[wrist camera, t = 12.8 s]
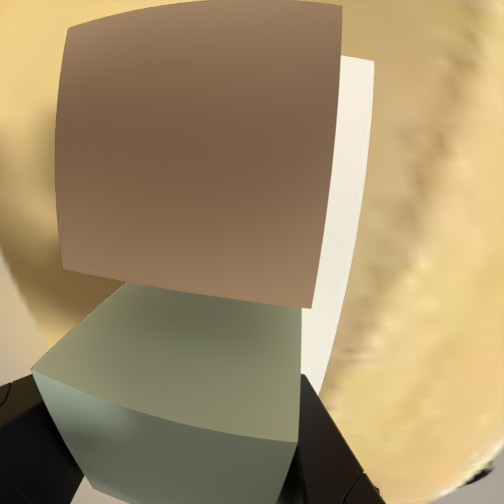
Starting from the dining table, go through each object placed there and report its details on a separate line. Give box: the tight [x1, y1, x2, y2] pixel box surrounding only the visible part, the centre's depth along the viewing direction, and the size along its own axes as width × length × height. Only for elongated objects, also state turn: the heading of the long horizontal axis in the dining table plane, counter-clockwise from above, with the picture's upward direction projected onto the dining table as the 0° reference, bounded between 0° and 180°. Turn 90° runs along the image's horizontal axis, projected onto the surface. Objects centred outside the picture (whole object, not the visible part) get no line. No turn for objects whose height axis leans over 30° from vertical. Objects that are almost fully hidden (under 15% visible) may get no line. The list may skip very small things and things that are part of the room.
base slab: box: [301, 56, 374, 395], centre depth 10 cm, size 11×7×3 cm, turn 176°
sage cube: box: [31, 282, 302, 504], centre depth 6 cm, size 4×4×4 cm
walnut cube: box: [55, 0, 342, 309], centre depth 6 cm, size 4×4×4 cm
